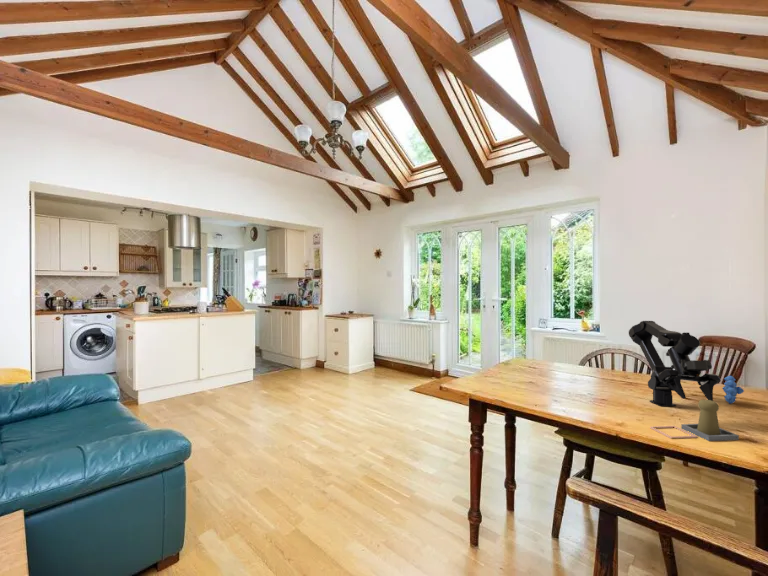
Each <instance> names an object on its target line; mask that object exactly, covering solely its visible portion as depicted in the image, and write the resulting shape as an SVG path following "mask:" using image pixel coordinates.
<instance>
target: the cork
mask: <svg viewBox="0 0 768 576" xmlns="http://www.w3.org/2000/svg"><path fill="white" fill-rule="evenodd" d="M719 407H720V406H719V403H718V402H717V401H714V400H713V401H711V400H708V399H700V400H699V401H698V408H699V409H700V411H699V417H698V423H697V424H698V427H697V430H698V431H700V432H702V433H705V434H707V435H721V434H720V429H719V428H720V424H719V419H718V417H719V416H718V411H719V410H720V409H719Z"/></svg>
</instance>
